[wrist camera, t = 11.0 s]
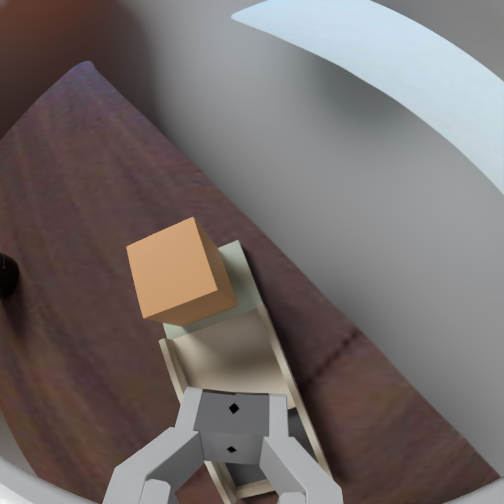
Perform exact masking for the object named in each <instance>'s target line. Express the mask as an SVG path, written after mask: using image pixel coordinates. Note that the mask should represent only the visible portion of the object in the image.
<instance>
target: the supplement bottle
mask: <svg viewBox="0 0 504 504" xmlns="http://www.w3.org/2000/svg"><path fill="white" fill-rule="evenodd" d="M17 275H18V271H17V265H16V263H15V261H14V260H13V259H12V258H11V257H9V256H7V255H4V254H2V253H0V298H1V299H5V298H7V297H9V296H10V295H11V294H12V292H13V290H14V288H15V286H16V282H17Z"/></svg>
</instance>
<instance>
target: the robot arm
mask: <svg viewBox="0 0 504 504" xmlns="http://www.w3.org/2000/svg"><path fill="white" fill-rule="evenodd" d="M204 461H213V462H226V463H239V464H251V465H259V467H260V468H261V470H262V471H263V473H264V474H265V476H266V477H267V479H268V480H269V482H270V483H271V485H272V486H273V488H274V489H275V491H276V492H277V494H278V495H279V496H280V497H279V499H278V502H277V504H343V498H342V491H341V488H340V487H339V486H338V485H337V484H336V482H335V481H334V480H333V479H332V478H331V477H330V476H329V475H328V474H327V473H326V472H325V471H324V470H323V469H322V468H321V467H320V465H319V464H318V463H317V462H316V461H315V460H314V459H313V458H312V457H311V456H310V455H309V453H308V452H307V451H306V450H305V449H304V448H303V447H302V446H301V444H300V443H299V442H298V441H297V440H296V439H295V438H294V437H289V426H288V408H287V396H286V394H272V393H250V392H228V391H219V390H211V389H202V388H194V387H187V388H186V390H185V392H184V396H183V399H182V403H181V407H180V410H179V414H178V418H177V421H176V425H175V428H172V427H170V428H168V429H167V430H166V431H164V432H163V433H162V434H161V435H159V436H158V437H157V438H155V439H154V440H153V441H151V442H150V443H149V444H147V445H146V446H145V447H143V448H142V449H141V450H139V451H138V452H137V453H135V454H134V455H133V456H131V457H130V458H128V459H127V460H126V461H124V462H123V463H121V464H120V465H119V466H117V467H116V468H115V470H114V472H113V475H112V478H111V481H110V484H109V486H108V489H107V492H106V495H105V498H104V501H103V504H179V502H178V500H177V498H176V496H175V494H174V493H175V492H176V491H177V490H178V489H179V488H180V487H181V486H182V485H183V484H184V483H185V482H186V481H187V480H188V479H189V478H190V477H191V476H192V475H193V474H194V472H195V471H196V470H197V469H198V468H199V467H200V466H201V465H202V464H203V463H204ZM0 504H98V503H95V502H93V501H90V500H87V499H85V498H82V497H80V496H77V495H75V494H73V493H70V492H68V491H66V490H63V489H61V488H59V487H57V486H55V485H53V484H51V483H48V482H46V481H44V480H42V479H40V478H39V477H37V476H35V475H33V474H30V473H29V472H27V471H25V470H24V469H22V468H20V467H18V466H17V465H15V464H13V463H12V462H10V461H8V460H7V459H5V458H4V457H2V456H0ZM443 504H504V476H503V477H501V478H500V479H498V480H496V481H494V482H492V483H490V484H488V485H486V486H484V487H482V488H479V489H477V490H475V491H473V492H471V493H468V494H466V495H464V496H461V497H459V498H456V499H454V500H451V501H449V502H446V503H443Z"/></svg>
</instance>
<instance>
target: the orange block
mask: <svg viewBox="0 0 504 504" xmlns="http://www.w3.org/2000/svg"><path fill="white" fill-rule="evenodd" d="M127 252H128V257H129V261H130V266H131V270H132V275H133V279H134V284H135V288H136V292H137V296H138V300H139V304H140V308H141V312H142V315H143V318H144V319H148V320H152V321H157V322H161V323H166V324H171V325H175V326H180V327H182V326H185V325H188V324H191V323H193V322H196V321H199V320H202V319H204V318H207V317H210V316H212V315H215V314H218V313H220V312H223V311H226V310H228V309H231V308H234V307H236V306H239V305H238V303H237V300H236V297H235V294H234V292H233V289H232V286H231V283H230V281H229V278H228V275H227V272H226V269H225V267H224V264H223V261H222V258H221V255H220V253H219V250H218V248H217V247H216V246H215V244H214V243H213V242H212V241H211V239H210V238H209V237H208V235H207V234H206V233H205V231H204V230H203V229H202V227H201V226H200V225H199V224H198V222H197V221H196V220H195V218H194V217H192V218H189V219H187V220H185V221H182V222H180V223H178V224H176V225H173V226H171V227H169V228H166V229H164V230H162V231H160V232H157V233H155V234H153V235H151V236H149V237H146V238H144V239H142V240H140V241H138V242H135V243H133V244H131V245H129V246H127Z"/></svg>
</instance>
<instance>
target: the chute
mask: <svg viewBox="0 0 504 504" xmlns="http://www.w3.org/2000/svg"><path fill="white" fill-rule="evenodd" d="M218 250H219V253H220V255H221V258H222V261H223V264H224V267H225V269H226V272H227V275H228V278H229V281H230V283H231V286H232V289H233V292H234V294H235V297H236V300H237V303H238V305H239V306H236V307H234V308H231V309H228V310H226V311H223V312H220V313H218V314H215V315H212V316H210V317H207V318H204V319H202V320H199V321H196V322H193V323H191V324H188V325H185V326H182V327H180V326H175V325H171V324H166V323H163V326H164V329H165V332H166V336H167V339H162V340H159V343H160V346H161V349H162V352H163V355H164V359H165V362H166V365H167V368H168V371H169V374H170V376H171V379H172V382H173V385H174V388H175V391H176V393H177V396H178V399H179V401H180V404H181V403H182V399H183V396H184V392H185V390H186V388H187V387H194V388H202V389H211V390H219V391H228V392H250V393H272V394H286V396H287V408H288V426H289V437H294V438H295V439H296V440H297V441H298V442H299V443H300V444H301V446H302V447H303V448H304V449H305V450H306V451H307V452H308V453H309V455H310V456H311V457H312V458H313V459H314V460H315V461H316V462H317V463H318V464H319V465H320V467H321V468H322V469H323V470H324V471H325V472H326V473H327V474H328V475H329V476H330V477H331V478H332V479H333V477H332V474H331V470H330V467H329V464H328V462H327V459H326V457H325V454H324V452H323V449H322V447H321V444H320V442H319V439H318V437H317V434H316V432H315V429H314V427H313V424H312V422H311V419H310V417H309V414H308V412H307V409H306V407H305V404H304V402H303V399H302V397H301V394H300V392H299V389H298V387H297V384H296V382H295V379H294V377H293V374H292V372H291V369H290V367H289V364H288V362H287V359H286V357H285V354H284V352H283V349H282V346H281V344H280V341H279V339H278V336H277V334H276V331H275V329H274V326H273V324H272V321H271V319H270V316H269V313H268V311H267V308H266V306H265V305H264V303H263V301H262V298H261V296H260V293H259V291H258V288H257V286H256V283H255V280H254V278H253V275H252V273H251V270H250V268H249V265H248V262H247V260H246V257H245V255H244V252H243V249H242V247H241V244H240V243H239V241H238V240H237V241H235V242H232V243H230V244H227V245H225V246H222V247H220V248H218ZM204 462H205V464H206V466H207V469H208V471H209V473H210V475H211V477H212V479H213V481H214V483H215V485H216V487H217V489H218V491H219V493H220V495H221V497H222V499H223V501H224V503H225V504H235V502H236V500H237V499H239V498H244V497H249V496H253V495H258V494H262V493H266V492H270V491H274V490H275V489H274V488H273V486H272V485H271V483H270V482H269V480H268V479H267V477H266V476H265V474H264V473H263V471H262V470H261V468H260V467H259V465H251V464H239V463H226V462H213V461H204Z"/></svg>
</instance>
